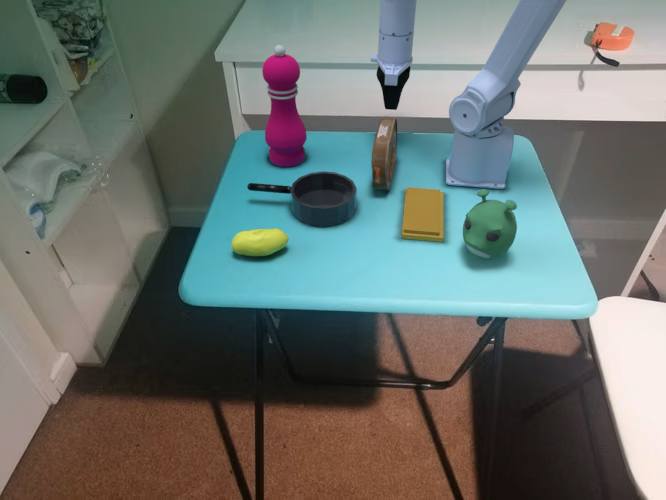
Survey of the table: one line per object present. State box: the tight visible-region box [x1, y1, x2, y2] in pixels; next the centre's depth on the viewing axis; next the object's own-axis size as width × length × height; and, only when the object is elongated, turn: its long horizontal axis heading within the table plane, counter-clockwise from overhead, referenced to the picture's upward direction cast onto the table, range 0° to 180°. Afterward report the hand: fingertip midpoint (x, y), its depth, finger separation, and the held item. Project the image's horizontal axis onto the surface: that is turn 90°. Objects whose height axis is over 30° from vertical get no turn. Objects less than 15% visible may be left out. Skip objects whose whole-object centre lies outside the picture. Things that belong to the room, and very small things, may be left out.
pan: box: [290, 171, 358, 228], centre depth 83 cm, size 10×10×4 cm
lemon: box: [230, 228, 290, 257], centre depth 75 cm, size 4×8×4 cm, turn 95°
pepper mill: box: [261, 44, 308, 168], centre depth 90 cm, size 7×7×20 cm
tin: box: [370, 118, 398, 191], centre depth 89 cm, size 15×3×8 cm, turn 168°
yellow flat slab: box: [401, 186, 445, 243], centre depth 82 cm, size 6×12×1 cm, turn 171°
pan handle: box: [246, 182, 292, 195], centre depth 84 cm, size 7×1×1 cm, turn 81°
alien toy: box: [462, 188, 518, 260], centre depth 72 cm, size 7×8×10 cm
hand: (391, 107), depth 97 cm, fingers closed
